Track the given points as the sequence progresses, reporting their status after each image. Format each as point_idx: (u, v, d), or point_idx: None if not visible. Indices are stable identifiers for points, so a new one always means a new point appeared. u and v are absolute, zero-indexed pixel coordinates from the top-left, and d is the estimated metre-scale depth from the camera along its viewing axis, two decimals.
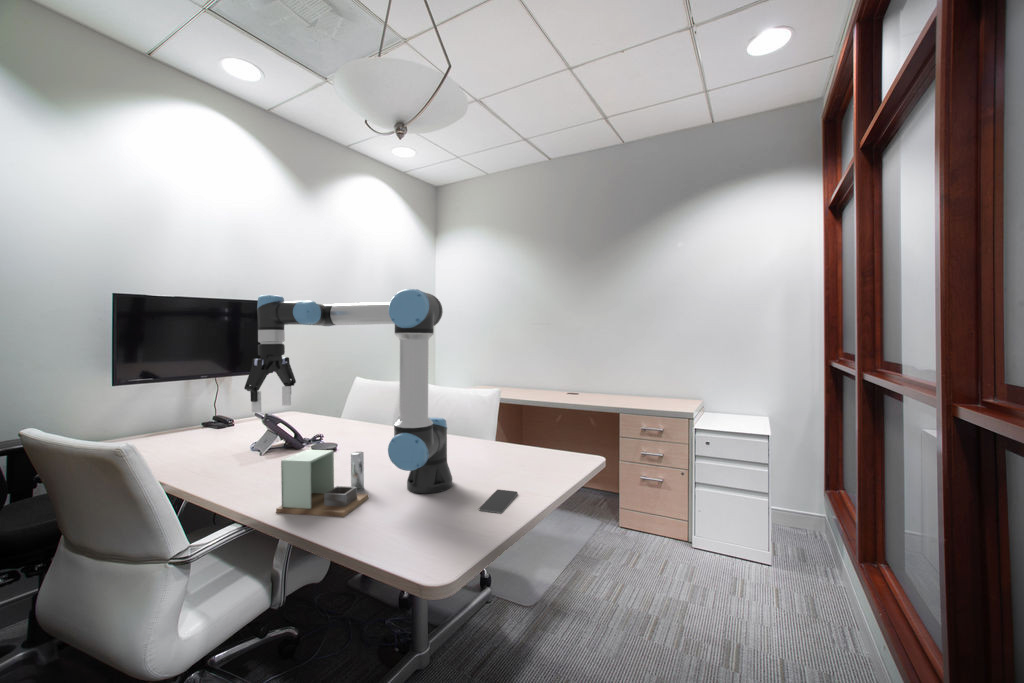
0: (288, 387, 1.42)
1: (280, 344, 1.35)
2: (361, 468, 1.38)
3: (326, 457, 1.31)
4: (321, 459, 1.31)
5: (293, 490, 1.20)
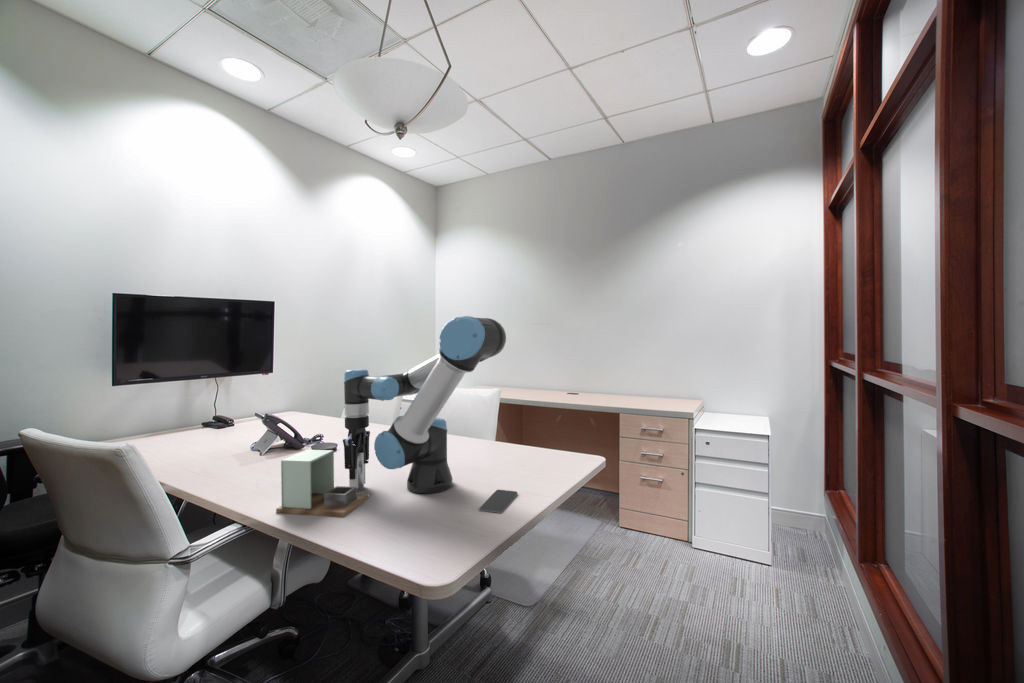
0: None
1: (366, 417, 1.38)
2: (361, 468, 1.38)
3: (326, 457, 1.31)
4: (321, 459, 1.31)
5: (293, 490, 1.20)
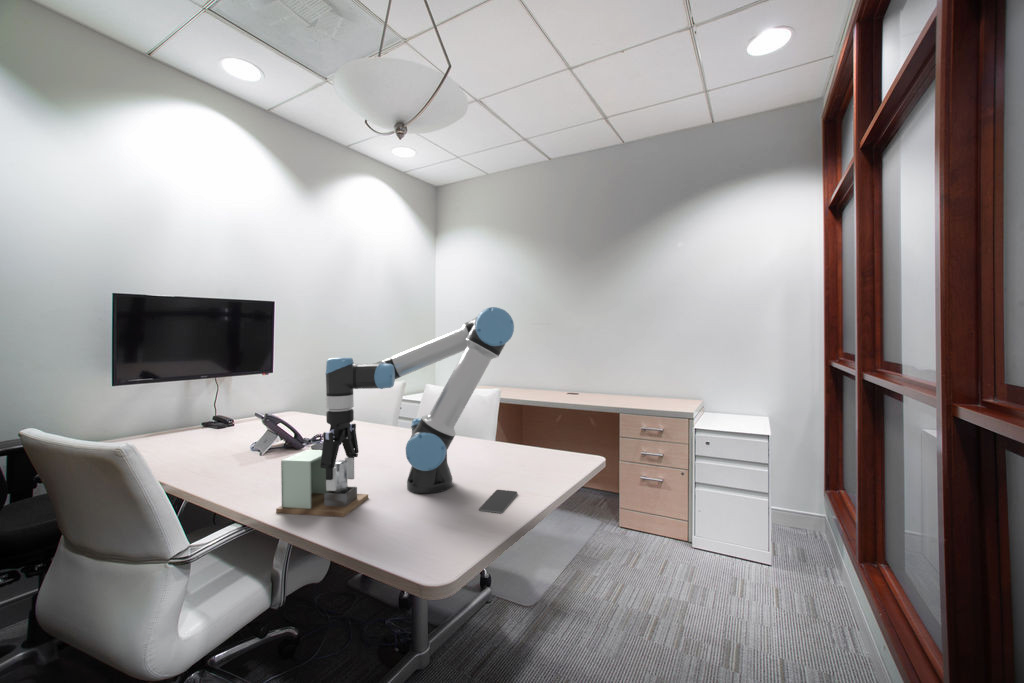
0: (352, 459, 1.29)
1: (350, 411, 1.24)
2: (344, 479, 1.23)
3: None
4: None
5: (293, 490, 1.20)
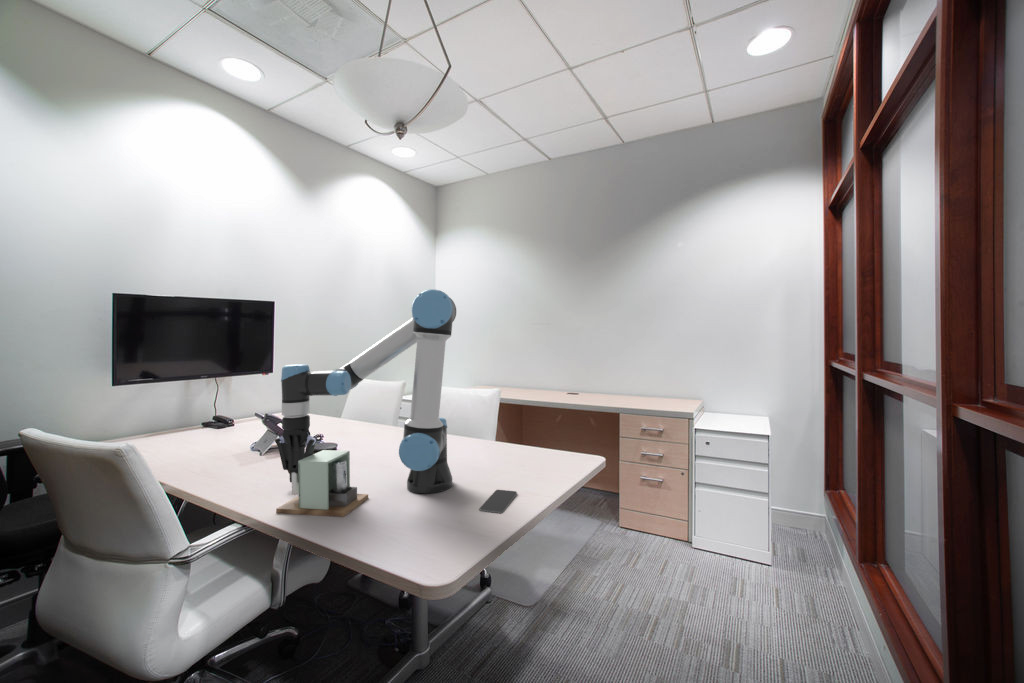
0: None
1: (287, 419, 1.23)
2: (344, 479, 1.23)
3: (342, 458, 1.30)
4: (337, 460, 1.31)
5: (310, 491, 1.20)
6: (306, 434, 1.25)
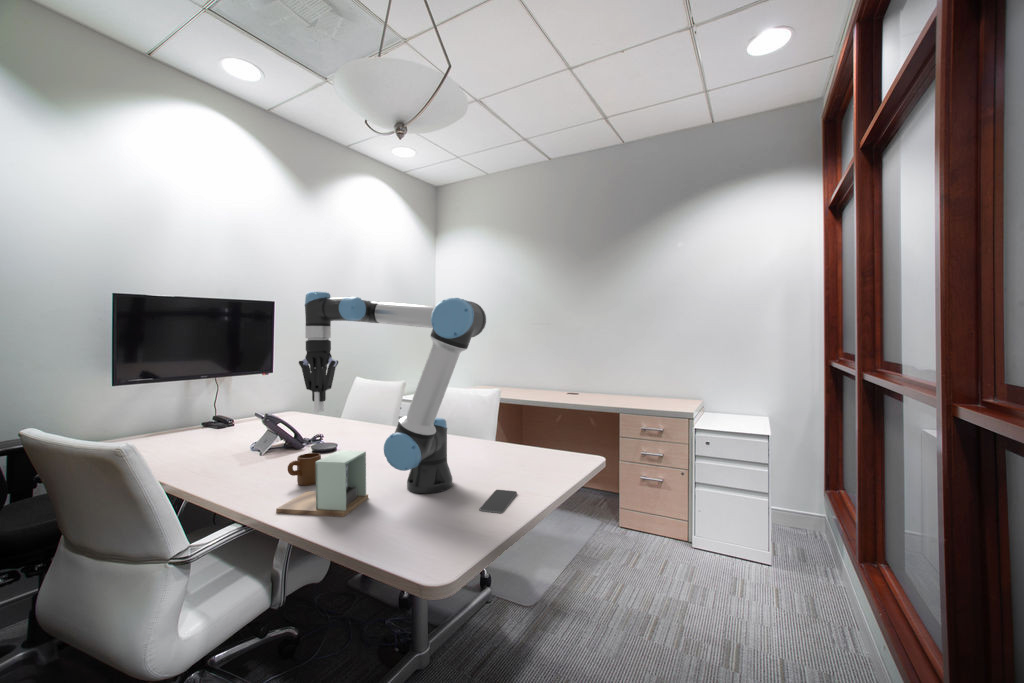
0: None
1: (310, 340, 1.33)
2: (346, 479, 1.24)
3: (358, 458, 1.29)
4: (353, 460, 1.30)
5: (328, 492, 1.19)
6: (328, 356, 1.35)
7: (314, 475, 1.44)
